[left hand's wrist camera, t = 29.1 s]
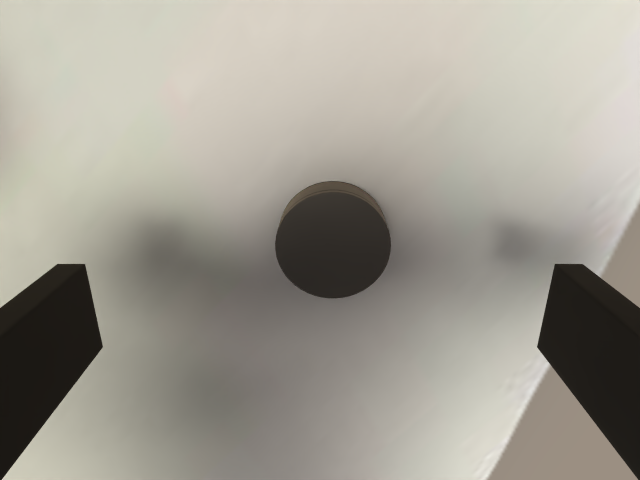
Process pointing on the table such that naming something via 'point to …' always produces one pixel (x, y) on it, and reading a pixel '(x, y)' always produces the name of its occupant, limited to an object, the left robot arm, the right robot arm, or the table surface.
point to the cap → (332, 240)
